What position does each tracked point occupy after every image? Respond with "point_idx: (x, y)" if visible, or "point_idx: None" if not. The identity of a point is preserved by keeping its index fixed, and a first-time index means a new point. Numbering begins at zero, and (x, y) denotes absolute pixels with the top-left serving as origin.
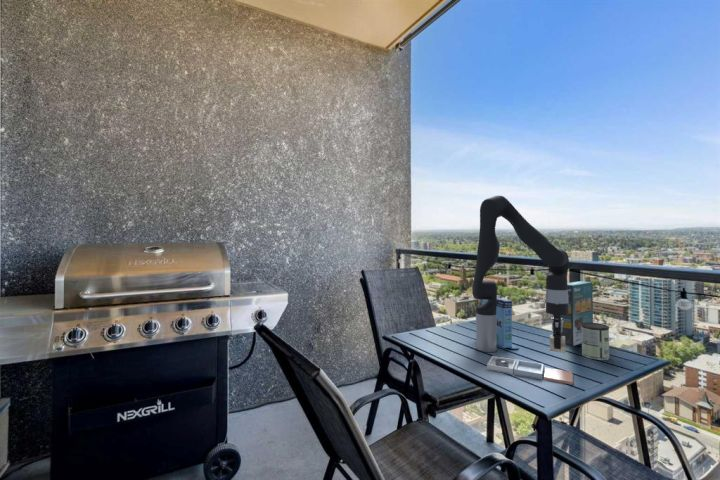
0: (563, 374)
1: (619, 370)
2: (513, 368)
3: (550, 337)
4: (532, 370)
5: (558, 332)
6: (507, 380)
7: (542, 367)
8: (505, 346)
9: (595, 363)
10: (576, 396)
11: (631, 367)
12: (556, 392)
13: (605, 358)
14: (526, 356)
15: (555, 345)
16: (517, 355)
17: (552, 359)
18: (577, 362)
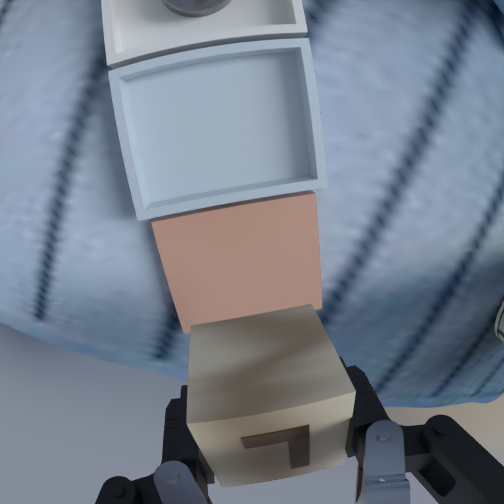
0: (259, 288)
1: (426, 381)
2: (135, 58)
3: (203, 427)
4: (233, 139)
5: (362, 462)
6: (31, 89)
7: (254, 195)
8: (498, 2)
9: (468, 325)
10: (83, 345)
11: (454, 387)
12: (58, 290)
13: (498, 336)
14: (456, 82)
15: (168, 407)
16: (445, 41)
17: (469, 195)
18: (465, 282)
